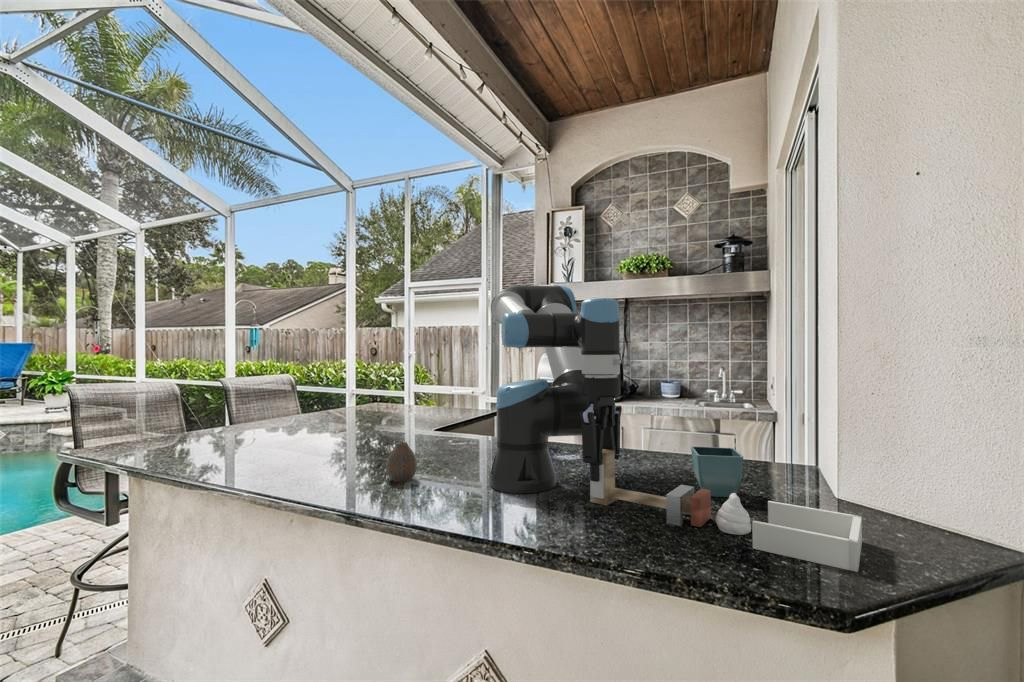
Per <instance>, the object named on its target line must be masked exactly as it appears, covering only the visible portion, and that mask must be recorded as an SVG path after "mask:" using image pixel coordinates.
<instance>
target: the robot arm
mask: <svg viewBox="0 0 1024 682" xmlns="http://www.w3.org/2000/svg"><path fill="white" fill-rule="evenodd" d="M619 307H620V306H619V302H618V301H617V299H614V298H606V297H605V298H604V297H602V298H601V297H600V298H597V297H596V298H588V299H584V300H583V301H582V302H581V306H580V312H577V304H576V297H575V295H574V292H573V291H572V289H571V288H570V287H567V286H564V285H562V286H561V285H557V284H555V285H520V284H519V285H514V286H510V287H507V288H504V289H502V290H501V291H499V292H497V293H496V294H495V295H494V297H493V299H492V300H491V304H490V313H491V315H492V317H493V319H494V320H495V321H496V322H497V323H499V324H501V328H500V329H501V331H500V332H501V334H500V335H501V339H502V344H503V346H504V347H506V348H516V349H523V348H527V349H529V348H545V352H546V356H547V360H548V363H549V367H550V371H551V374H552V375H551V376H552V379H553V381H552V383H551V384H550V385H549V382H548V380H547V379H545V378H537V379H526V380H520V381H514V382H510V383H506V384H502V385H501V386H499V388H498V390H496V391H497V392H496V404H495V408H496V452H495V455H494V459H493V462H492V465H491V470H490V472H489V486H490V487H491V488H492V489H494V490H497V491H500V492H504V493H513V494H533V493H534V494H535V493H541V492H542V493H543V492H545V491H548V490H551V489H554V488H555V487H556V486H557V473H556V471H555V467H554V463H553V461H552V458H551V454H550V450H549V437H570V436H571V437H572V436H575V437H576V436H581V442H582V443H581V444H582V446H581V447H582V461H583V462H584V463H585V464H589V496H591V497H596V498H601V499H604V498H605V490H604V464H601V463H602V450H603V449H608V450H615V460H619V459H620V454H621V453H620V452H621V415H622V406H621V405H616V402H615V398H616V397H619V396H621V379H620V377H618V376H619V375H620V374H621V364H622V360H621V358H620V356H621V355H620V353H621V352H620V350H621V349H620V347H621V345H620V340H621V339H620V338H621V336H620V334H621V333H620V331H621V329H620V326H621V325H620V321H621V315H620V309H619ZM580 348H581V350H580Z"/></svg>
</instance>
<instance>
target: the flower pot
mask: <svg viewBox="0 0 1024 682" xmlns="http://www.w3.org/2000/svg"><path fill="white" fill-rule="evenodd" d="M690 451H691V458H692V468H693V472H694V475H695V479H696V482H697V484H698V485H699V487H700V489H706V490H711V497H714V498H715V497H717V498H729V496H730V495H731V494H732V493H736V492H737V490H738V488H739V486H740V483H741V479H742V474H743V465H744V456H743V455H742V454H741V453H739V451H737V450H736V449H735V448H734V447H716V446H715V447H713V446H690Z"/></svg>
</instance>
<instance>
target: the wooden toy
mask: <svg viewBox="0 0 1024 682" xmlns="http://www.w3.org/2000/svg"><path fill="white" fill-rule="evenodd" d="M615 461H616V459H615V450H608V449H603V450H602V463H601V464H604V490H605V498H604V499H601V498H596V497H591V496H590V495H589V496H590V497H589V498H590V499H589V502H590V503H594V504H599V505H604V506H609V505H610V504H612V503H614V502H615V501H616V500H621V501H625V502H630V503H636V504H641V505H645V506H650V507H656V508H661V509H666V510H667V506H666V496H661V495H657V494H653V493H652V494H651V493H647V492H641V491H633V490H629V489H624V488H618V487H616V470H615V469H616V465H615V464H616V462H615ZM683 512H685V513H690V514H691V516H690V526H694V527H698V528H702V527H703V526H704V525H705V524H706V523H707V522H708V521H709V520H710V519H711V518H712V496H711V490H706V489H701V488H700V489H699V490H698V491H696V492H694V495H692V496H691V502H690V501H684V500H683Z"/></svg>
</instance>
